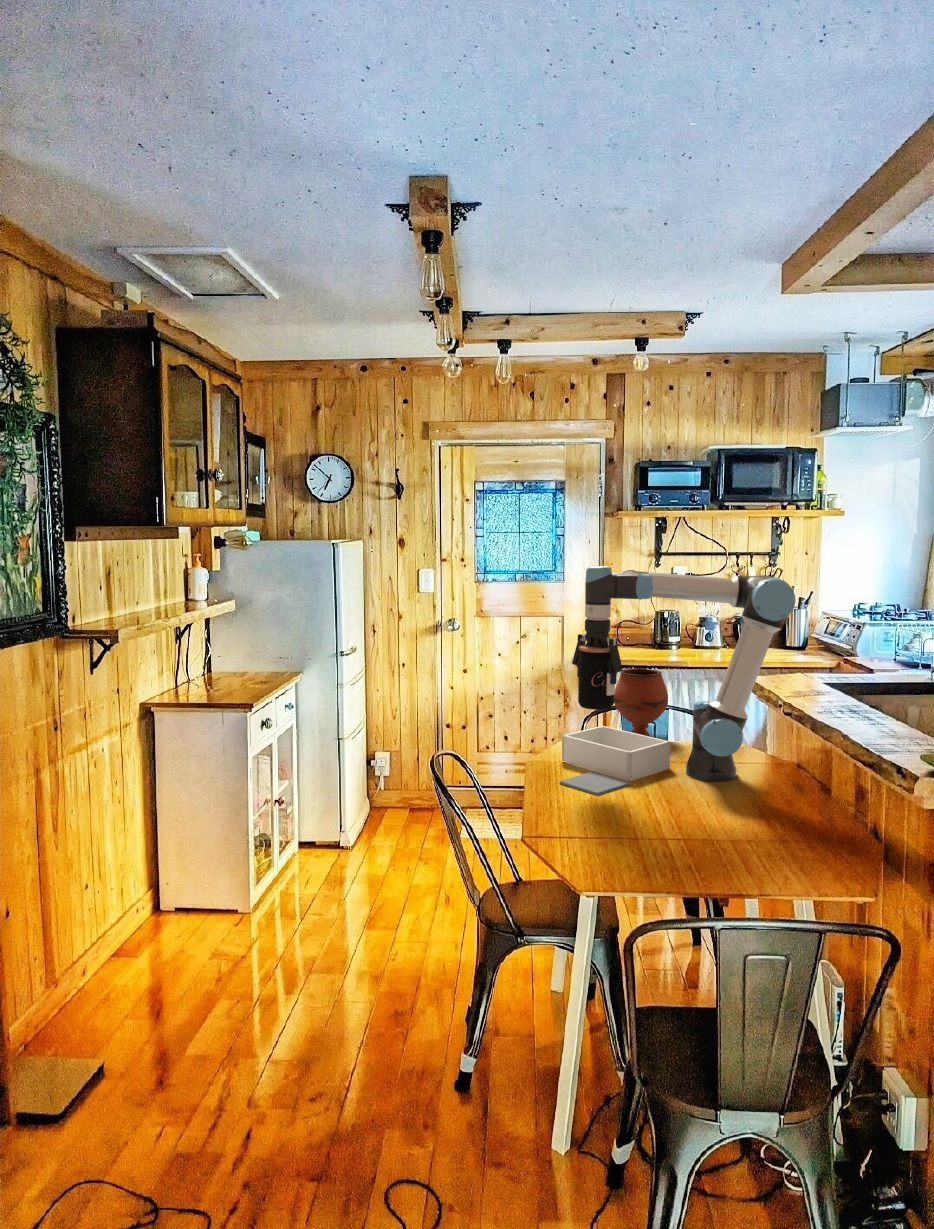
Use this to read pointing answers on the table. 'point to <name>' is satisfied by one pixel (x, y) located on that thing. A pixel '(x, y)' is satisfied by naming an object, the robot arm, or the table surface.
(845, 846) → the table surface
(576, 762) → the crate
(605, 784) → the mat
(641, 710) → the goblet
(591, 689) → the coffee jar
